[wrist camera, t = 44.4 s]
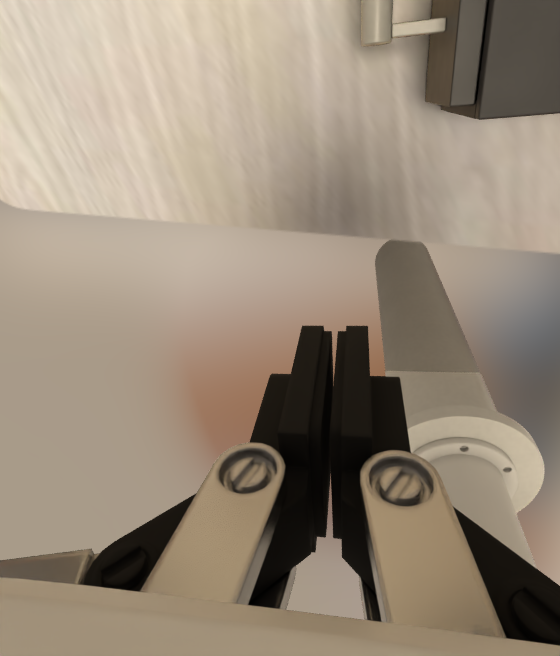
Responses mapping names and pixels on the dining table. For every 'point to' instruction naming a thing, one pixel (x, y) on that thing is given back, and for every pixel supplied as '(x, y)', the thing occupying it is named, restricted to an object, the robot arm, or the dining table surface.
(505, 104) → the cabinet
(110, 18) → the dining table surface
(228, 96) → the dining table surface
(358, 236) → the dining table surface
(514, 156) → the dining table surface
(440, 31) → the drawer
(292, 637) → the robot arm
